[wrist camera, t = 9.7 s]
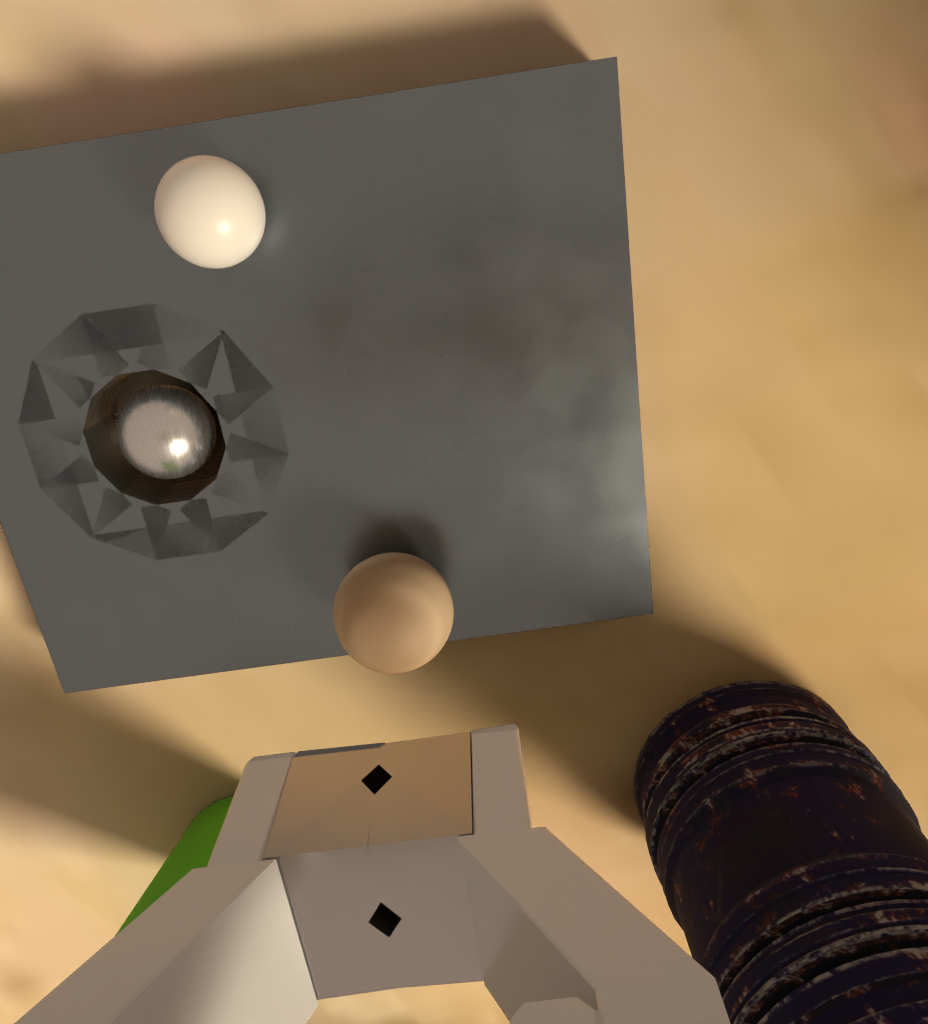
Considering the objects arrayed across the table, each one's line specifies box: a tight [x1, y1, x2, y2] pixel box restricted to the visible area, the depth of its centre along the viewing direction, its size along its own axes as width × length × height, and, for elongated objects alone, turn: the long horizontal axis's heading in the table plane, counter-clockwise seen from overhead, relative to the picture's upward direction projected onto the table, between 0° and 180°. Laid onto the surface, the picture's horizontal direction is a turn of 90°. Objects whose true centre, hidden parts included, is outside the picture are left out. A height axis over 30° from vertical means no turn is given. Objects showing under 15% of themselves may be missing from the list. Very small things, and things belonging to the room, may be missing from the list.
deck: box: [0, 57, 653, 693], centre depth 27 cm, size 22×18×2 cm
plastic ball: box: [154, 155, 266, 269], centre depth 22 cm, size 3×3×3 cm
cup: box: [115, 796, 234, 936], centre depth 30 cm, size 9×9×11 cm
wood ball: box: [333, 552, 454, 674], centre depth 26 cm, size 4×4×4 cm
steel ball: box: [116, 385, 216, 479], centre depth 27 cm, size 3×3×3 cm
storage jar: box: [634, 681, 928, 1024], centre depth 28 cm, size 10×10×15 cm
